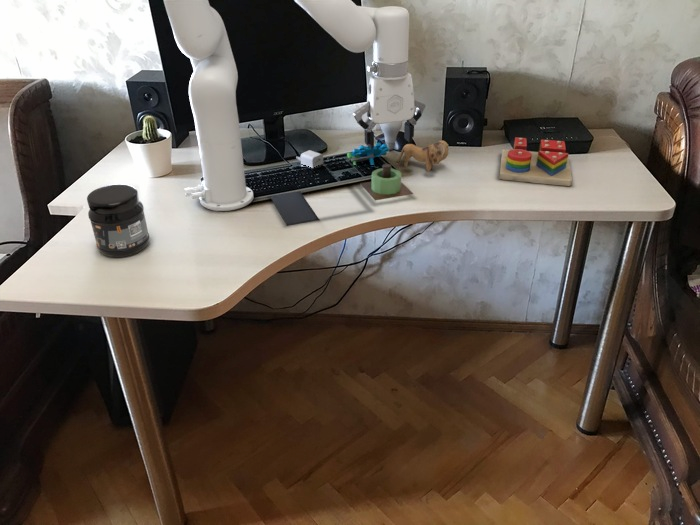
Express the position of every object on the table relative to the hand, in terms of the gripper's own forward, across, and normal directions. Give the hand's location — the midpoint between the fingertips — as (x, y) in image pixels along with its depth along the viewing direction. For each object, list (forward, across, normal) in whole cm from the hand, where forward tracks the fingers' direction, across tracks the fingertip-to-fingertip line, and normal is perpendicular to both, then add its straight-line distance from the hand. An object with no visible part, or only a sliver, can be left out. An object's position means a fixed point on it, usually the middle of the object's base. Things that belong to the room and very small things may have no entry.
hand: (389, 143), depth 138 cm
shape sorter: (+14, +41, -1) cm, 44 cm away
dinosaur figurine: (+13, +1, +17) cm, 21 cm away
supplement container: (+12, -62, -4) cm, 63 cm away
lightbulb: (+13, +11, +25) cm, 31 cm away
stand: (+13, -1, 0) cm, 13 cm away
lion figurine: (+13, +13, +9) cm, 21 cm away
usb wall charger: (+12, -14, +22) cm, 29 cm away
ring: (+11, -1, 0) cm, 11 cm away
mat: (+12, -18, 0) cm, 21 cm away
